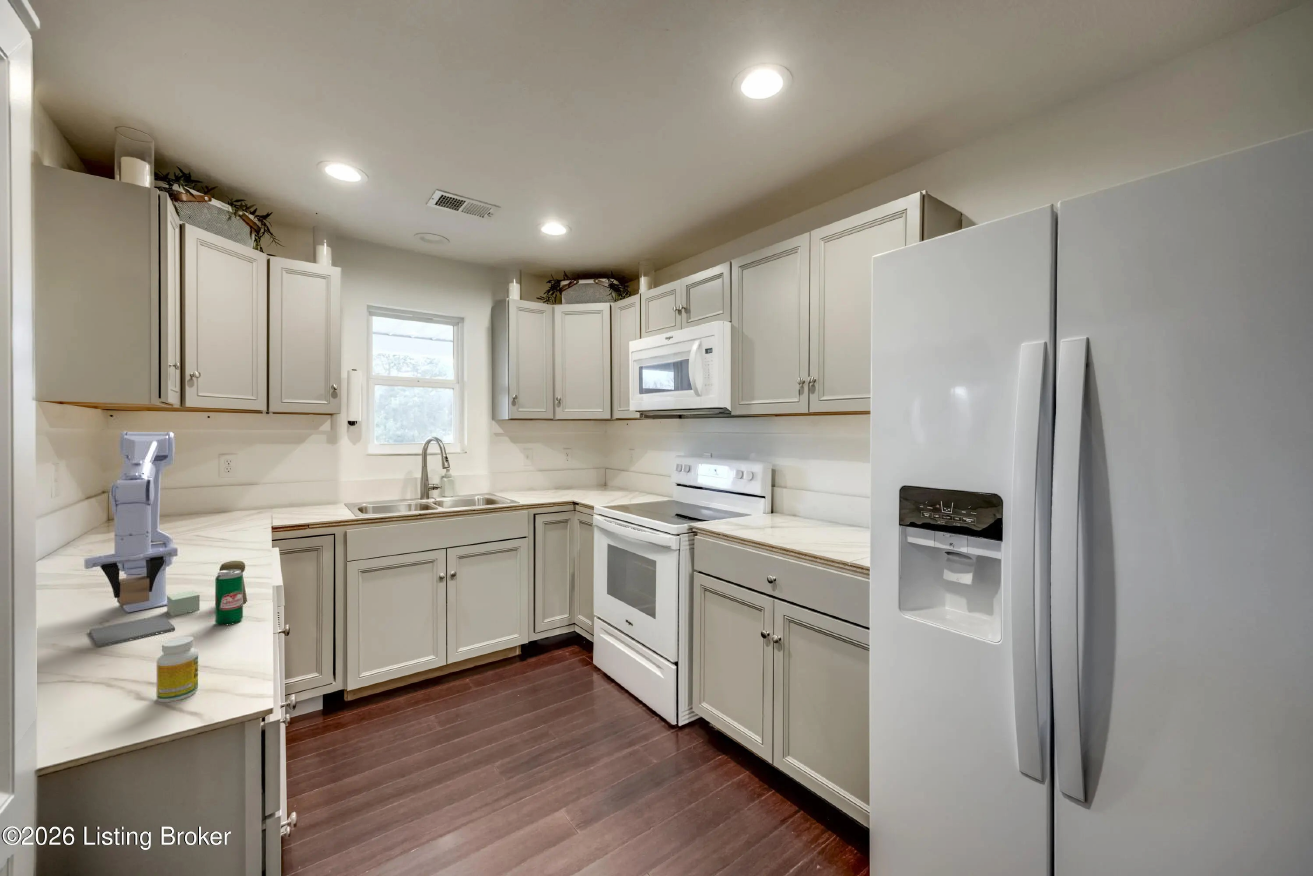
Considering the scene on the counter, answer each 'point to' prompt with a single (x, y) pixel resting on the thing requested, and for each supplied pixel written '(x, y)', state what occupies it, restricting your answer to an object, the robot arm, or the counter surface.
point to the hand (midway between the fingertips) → (133, 593)
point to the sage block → (183, 602)
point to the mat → (130, 630)
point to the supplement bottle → (177, 670)
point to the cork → (235, 565)
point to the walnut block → (133, 590)
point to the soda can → (228, 597)
